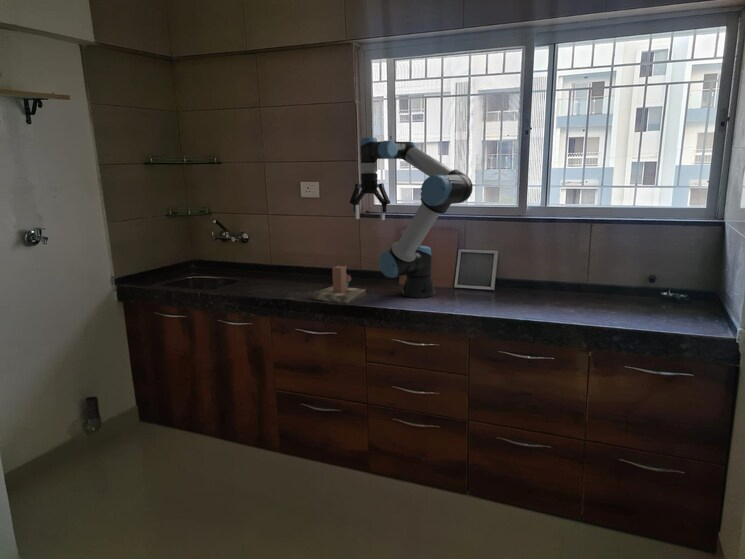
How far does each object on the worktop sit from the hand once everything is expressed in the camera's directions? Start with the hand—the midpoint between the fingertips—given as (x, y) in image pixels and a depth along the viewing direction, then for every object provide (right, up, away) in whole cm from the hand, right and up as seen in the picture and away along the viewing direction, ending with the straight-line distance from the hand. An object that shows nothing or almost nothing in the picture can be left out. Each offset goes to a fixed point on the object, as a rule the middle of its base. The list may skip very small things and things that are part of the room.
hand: (369, 219), depth 242 cm
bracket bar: (-14, -36, -2) cm, 38 cm away
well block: (-14, -36, -2) cm, 39 cm away
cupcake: (-14, -32, +18) cm, 39 cm away
